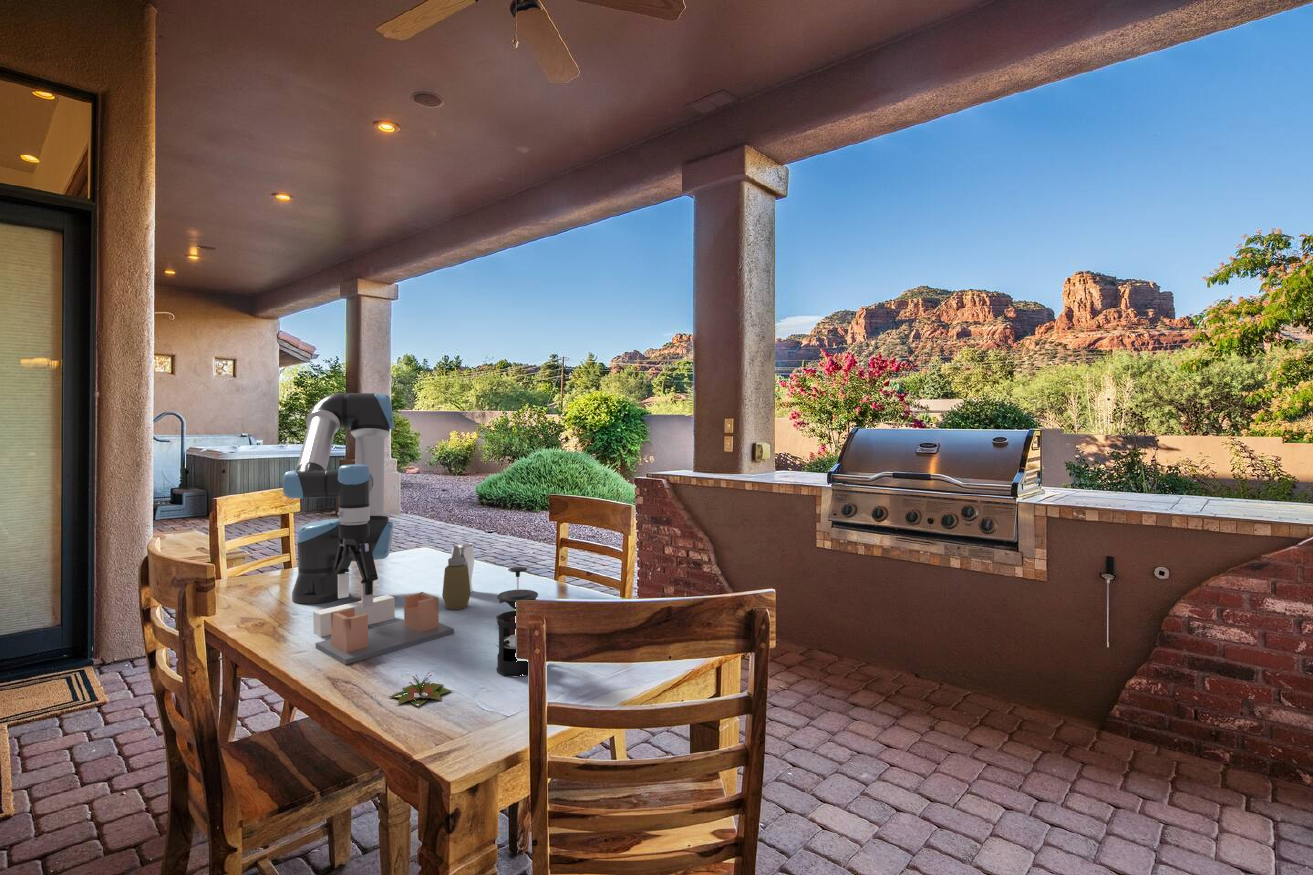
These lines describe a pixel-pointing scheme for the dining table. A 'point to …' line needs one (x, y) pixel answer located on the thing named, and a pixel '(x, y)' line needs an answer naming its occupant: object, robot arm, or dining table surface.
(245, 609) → the dining table surface
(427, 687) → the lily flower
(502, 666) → the french press
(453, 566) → the squeeze bottle
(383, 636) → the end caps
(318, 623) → the slat
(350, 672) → the dining table surface
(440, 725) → the dining table surface
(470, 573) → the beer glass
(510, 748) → the dining table surface
